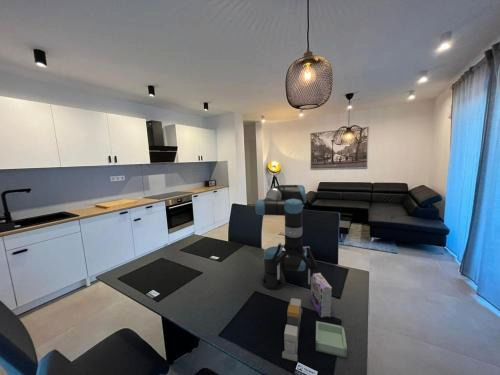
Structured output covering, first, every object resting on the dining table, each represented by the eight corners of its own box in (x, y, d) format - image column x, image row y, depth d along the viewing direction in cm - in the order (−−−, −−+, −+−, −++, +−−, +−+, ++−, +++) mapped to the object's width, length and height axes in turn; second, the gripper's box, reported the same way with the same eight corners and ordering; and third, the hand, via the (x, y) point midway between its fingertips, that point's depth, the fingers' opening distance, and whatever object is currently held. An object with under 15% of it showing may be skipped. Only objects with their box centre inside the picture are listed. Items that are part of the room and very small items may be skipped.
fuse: (287, 335, 96) (287, 311, 95) (288, 326, 101) (288, 304, 99) (298, 337, 95) (298, 313, 93) (299, 329, 99) (299, 306, 98)
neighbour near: (284, 352, 88) (284, 333, 87) (286, 342, 93) (286, 324, 91) (296, 355, 86) (296, 336, 85) (297, 345, 91) (297, 326, 90)
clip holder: (282, 357, 85) (282, 344, 85) (290, 309, 112) (290, 299, 111) (297, 361, 84) (297, 348, 83) (302, 312, 110) (302, 301, 109)
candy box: (310, 299, 120) (310, 273, 117) (320, 299, 120) (320, 272, 118) (320, 318, 106) (320, 288, 104) (331, 317, 106) (332, 287, 104)
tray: (315, 350, 88) (315, 342, 88) (316, 328, 99) (316, 320, 99) (346, 358, 84) (347, 349, 84) (343, 334, 96) (343, 326, 95)
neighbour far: (290, 320, 105) (289, 304, 104) (291, 313, 109) (291, 297, 108) (300, 322, 103) (300, 306, 102) (301, 315, 108) (301, 299, 107)
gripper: (263, 235, 92) (264, 280, 95) (323, 240, 84) (323, 289, 87) (267, 229, 99) (268, 271, 102) (323, 234, 91) (322, 279, 94)
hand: (293, 280), depth 94 cm, fingers open, 13 cm apart
